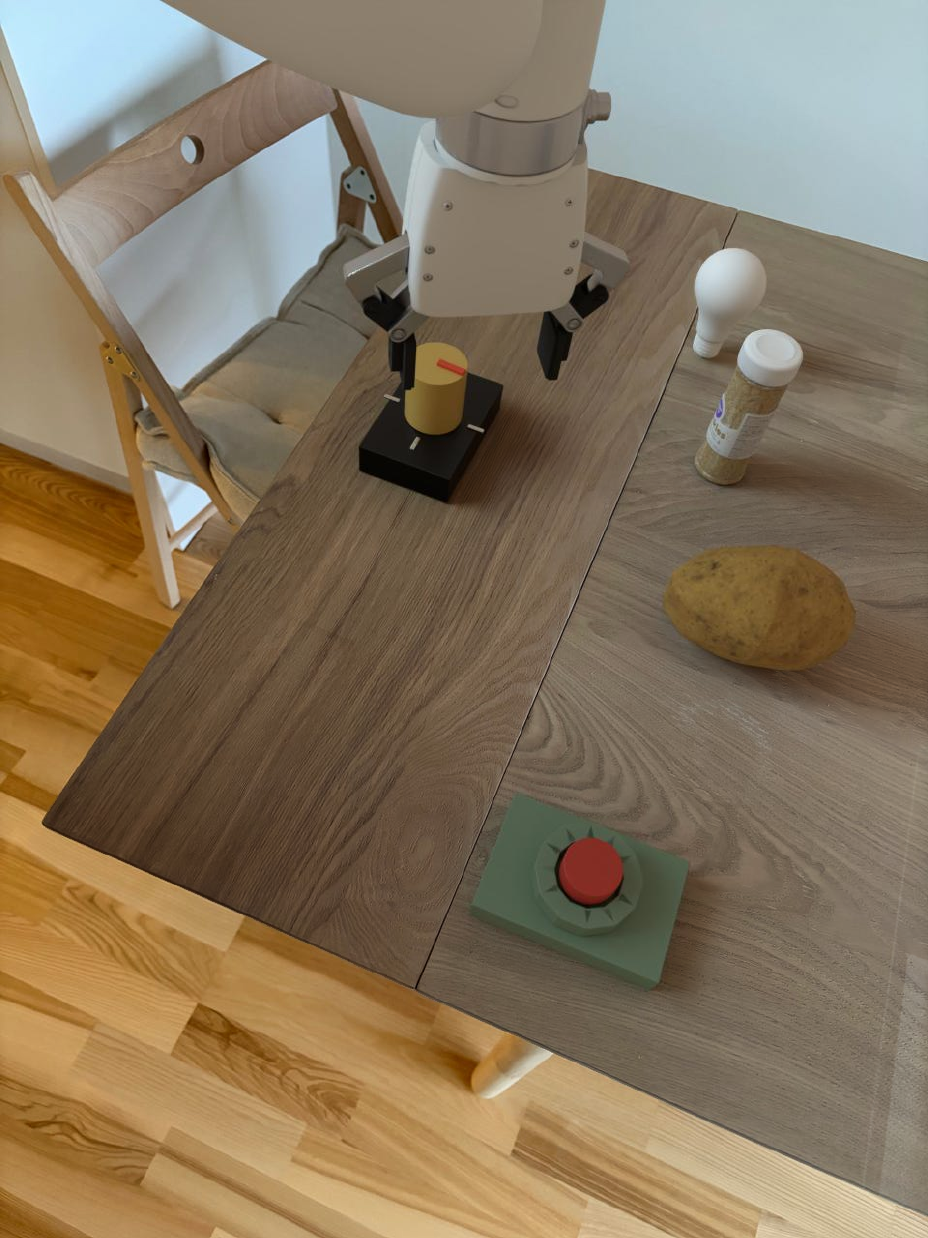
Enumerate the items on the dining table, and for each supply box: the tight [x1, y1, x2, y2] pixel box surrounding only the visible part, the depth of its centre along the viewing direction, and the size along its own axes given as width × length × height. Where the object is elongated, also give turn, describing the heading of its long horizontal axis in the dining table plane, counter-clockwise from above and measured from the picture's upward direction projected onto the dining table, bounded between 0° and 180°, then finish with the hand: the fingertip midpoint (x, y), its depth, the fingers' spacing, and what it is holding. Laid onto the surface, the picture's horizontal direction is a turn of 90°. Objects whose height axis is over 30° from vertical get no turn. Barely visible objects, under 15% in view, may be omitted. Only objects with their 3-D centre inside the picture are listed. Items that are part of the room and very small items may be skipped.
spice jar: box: [694, 328, 804, 486], centre depth 76 cm, size 5×5×13 cm
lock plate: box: [358, 371, 504, 504], centre depth 79 cm, size 12×9×3 cm
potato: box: [662, 544, 857, 671], centre depth 68 cm, size 10×13×9 cm
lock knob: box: [405, 342, 469, 435], centre depth 76 cm, size 5×5×6 cm
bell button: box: [559, 838, 623, 905], centre depth 57 cm, size 4×4×2 cm
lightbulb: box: [692, 247, 767, 359], centre depth 85 cm, size 6×6×11 cm
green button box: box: [467, 791, 691, 991], centre depth 59 cm, size 12×8×4 cm, turn 69°
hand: (476, 370), depth 63 cm, fingers open, 9 cm apart
